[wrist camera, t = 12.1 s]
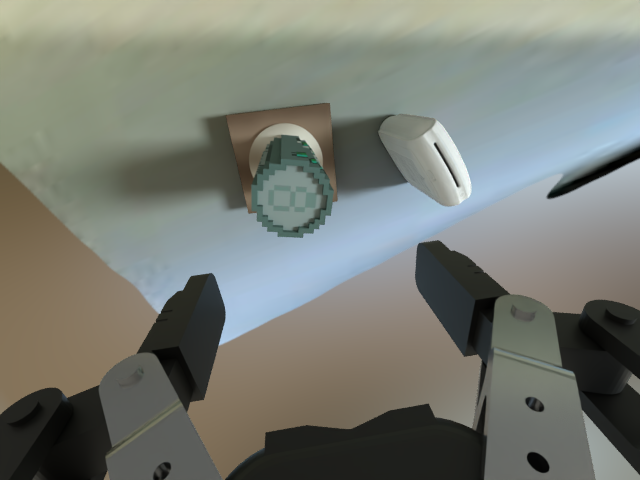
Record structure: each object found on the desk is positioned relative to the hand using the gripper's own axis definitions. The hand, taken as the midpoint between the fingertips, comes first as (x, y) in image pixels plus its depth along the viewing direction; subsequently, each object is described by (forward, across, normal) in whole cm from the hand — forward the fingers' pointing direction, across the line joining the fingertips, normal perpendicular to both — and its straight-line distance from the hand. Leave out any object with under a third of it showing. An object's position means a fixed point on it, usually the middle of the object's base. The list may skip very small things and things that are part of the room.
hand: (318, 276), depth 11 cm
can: (+26, +1, +1) cm, 26 cm away
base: (+30, +1, +1) cm, 30 cm away
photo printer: (+30, -15, +2) cm, 34 cm away
